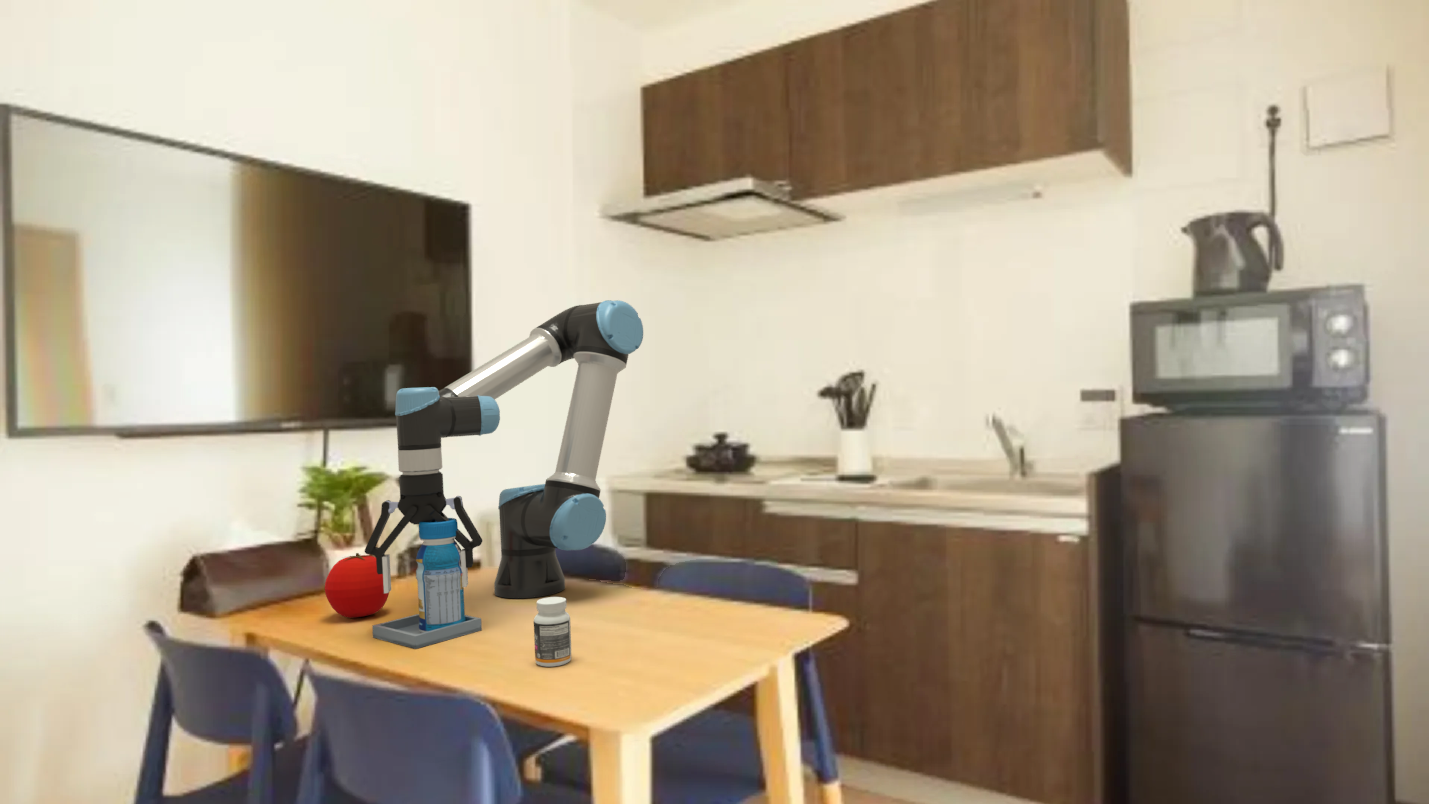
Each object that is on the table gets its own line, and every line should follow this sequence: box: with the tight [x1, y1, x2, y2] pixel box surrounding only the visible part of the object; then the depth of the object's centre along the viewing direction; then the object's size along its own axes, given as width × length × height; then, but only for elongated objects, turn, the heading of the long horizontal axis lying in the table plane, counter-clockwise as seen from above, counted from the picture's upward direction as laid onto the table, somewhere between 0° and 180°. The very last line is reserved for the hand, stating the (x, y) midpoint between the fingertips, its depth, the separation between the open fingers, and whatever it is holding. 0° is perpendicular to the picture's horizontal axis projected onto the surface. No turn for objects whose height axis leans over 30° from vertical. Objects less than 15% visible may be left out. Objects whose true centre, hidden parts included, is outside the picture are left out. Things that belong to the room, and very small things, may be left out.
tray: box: [372, 613, 483, 650], centre depth 159 cm, size 14×14×2 cm
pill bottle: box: [533, 596, 572, 668], centre depth 139 cm, size 6×6×10 cm
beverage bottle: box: [415, 517, 466, 633], centre depth 159 cm, size 8×8×20 cm
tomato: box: [324, 552, 390, 619], centre depth 174 cm, size 12×12×13 cm
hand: (426, 588), depth 159 cm, fingers open, 13 cm apart
